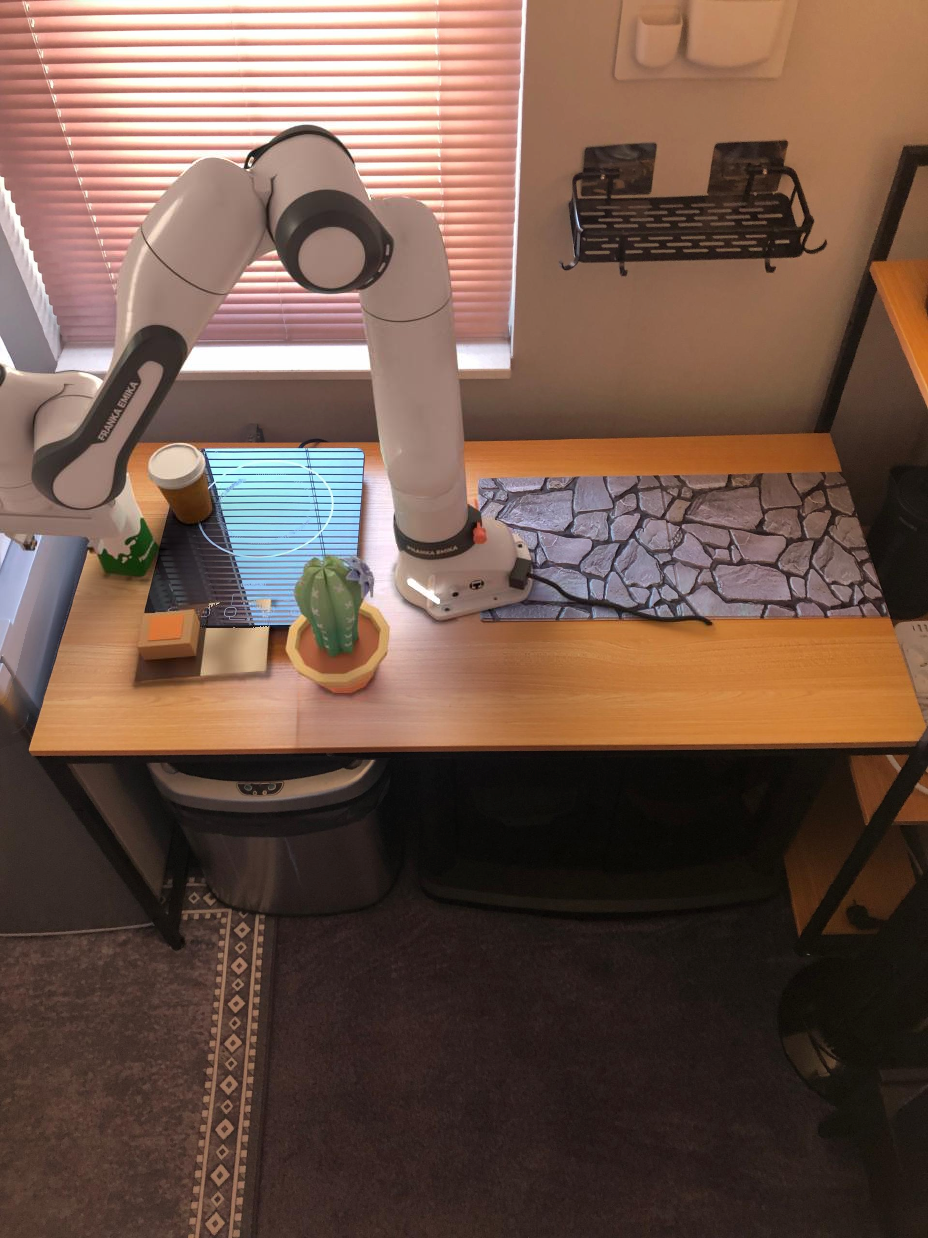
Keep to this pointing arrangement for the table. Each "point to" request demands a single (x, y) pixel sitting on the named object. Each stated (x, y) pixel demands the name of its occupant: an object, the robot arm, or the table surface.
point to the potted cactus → (337, 625)
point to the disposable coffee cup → (182, 481)
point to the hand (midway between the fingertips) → (64, 548)
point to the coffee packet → (169, 634)
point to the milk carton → (129, 541)
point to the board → (214, 651)
